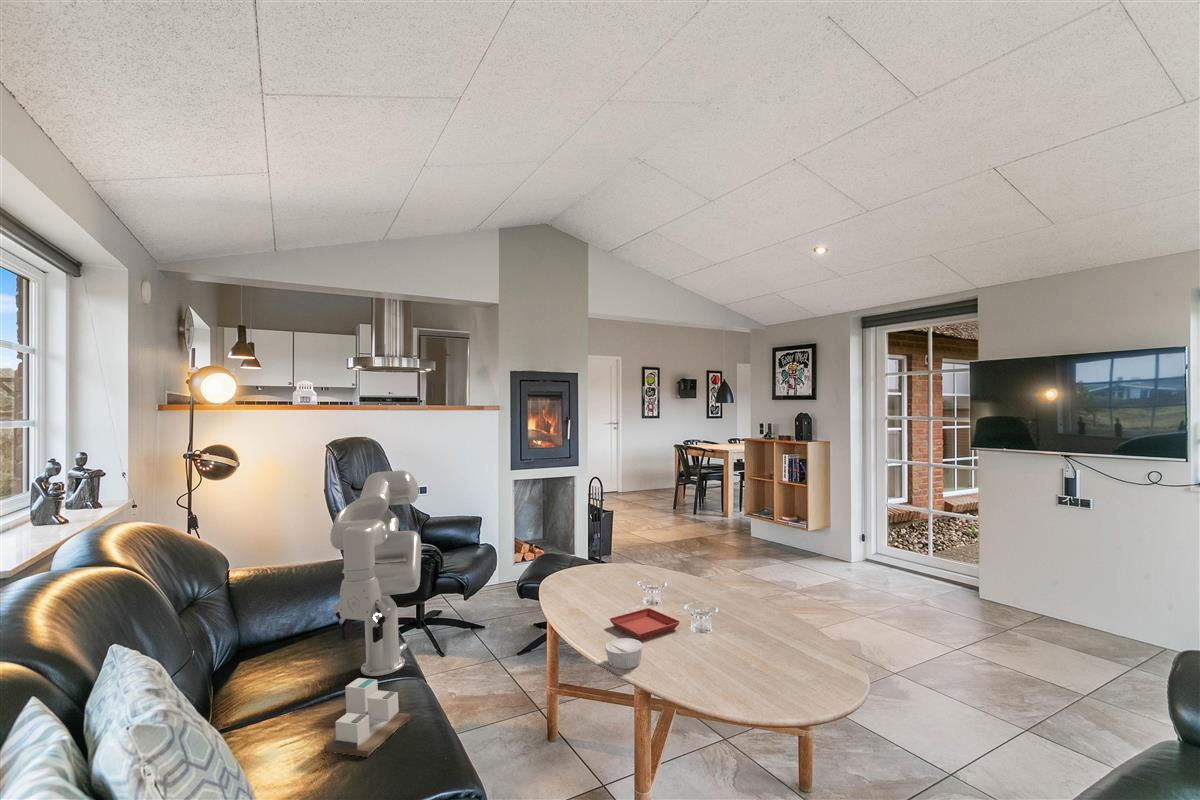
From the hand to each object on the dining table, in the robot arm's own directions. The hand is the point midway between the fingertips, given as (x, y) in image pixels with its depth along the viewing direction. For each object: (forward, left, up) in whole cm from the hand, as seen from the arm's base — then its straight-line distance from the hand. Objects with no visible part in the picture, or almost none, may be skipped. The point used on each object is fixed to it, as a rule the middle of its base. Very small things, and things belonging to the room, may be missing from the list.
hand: (362, 638), depth 149 cm
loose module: (-1, -2, -19) cm, 19 cm away
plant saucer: (-68, +60, -20) cm, 93 cm away
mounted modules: (+9, +8, -17) cm, 21 cm away
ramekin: (-41, +60, -19) cm, 75 cm away
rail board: (+9, +8, -19) cm, 23 cm away
